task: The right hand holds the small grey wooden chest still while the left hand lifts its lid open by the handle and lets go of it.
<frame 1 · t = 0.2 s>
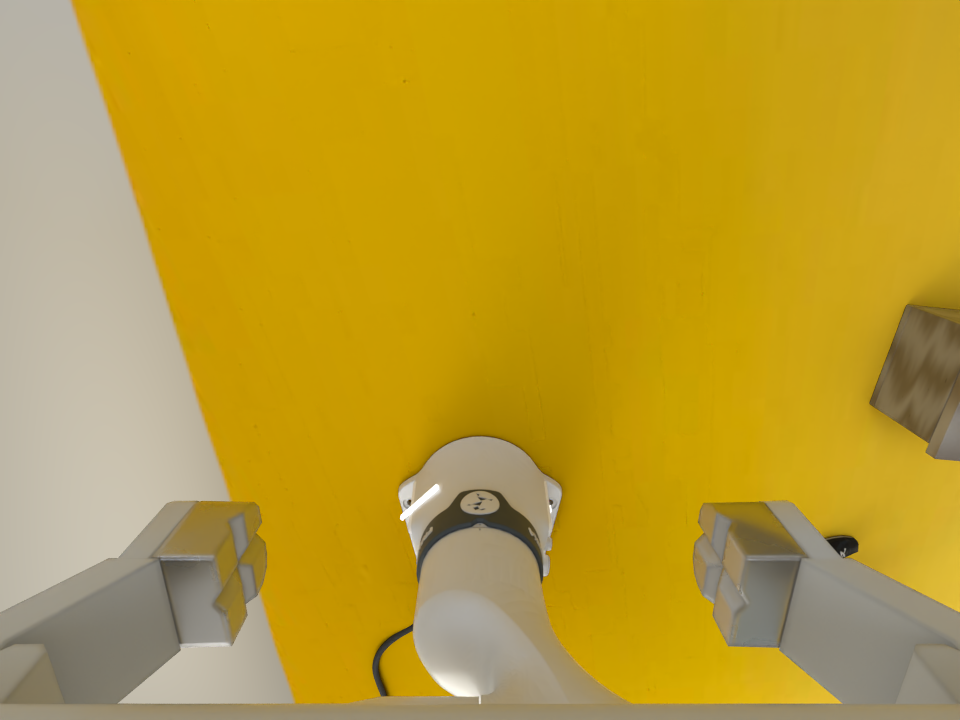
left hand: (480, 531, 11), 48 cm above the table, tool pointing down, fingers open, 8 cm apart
chest: (932, 360, 60), on the table
figurine: (820, 572, 70), on the table
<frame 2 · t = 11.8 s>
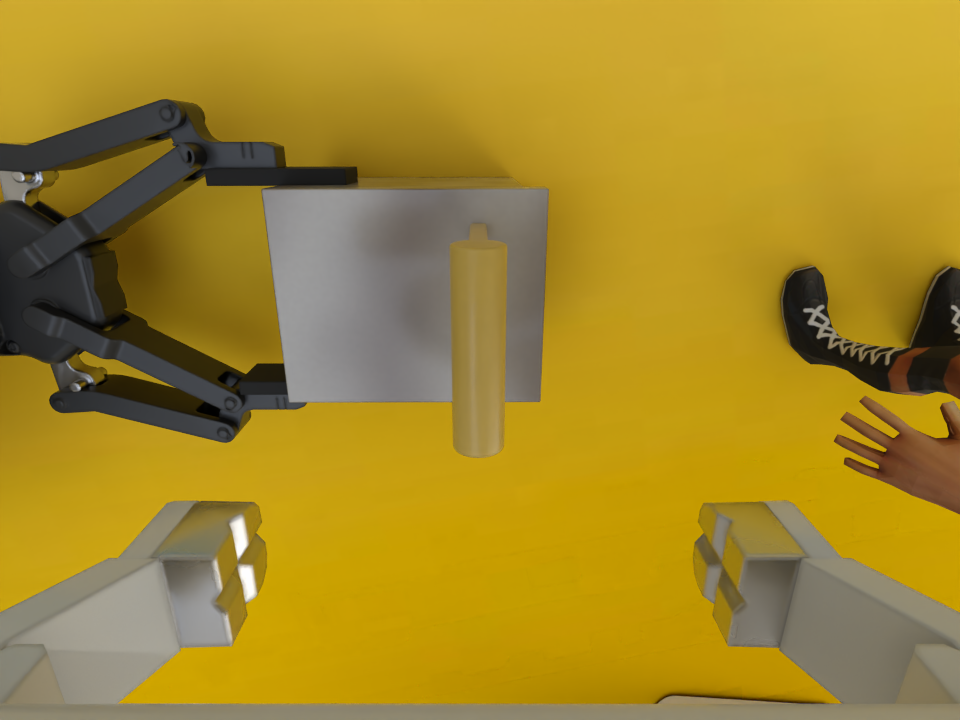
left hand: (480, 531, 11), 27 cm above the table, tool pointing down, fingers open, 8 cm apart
right hand: (360, 283, 30), fingers closed on chest, 10 cm apart
chest: (420, 261, 35), on the table, touching right hand
figurine: (866, 309, 36), on the table
lid: (401, 322, 23), point 13 cm above the table, hinge at 0.0°
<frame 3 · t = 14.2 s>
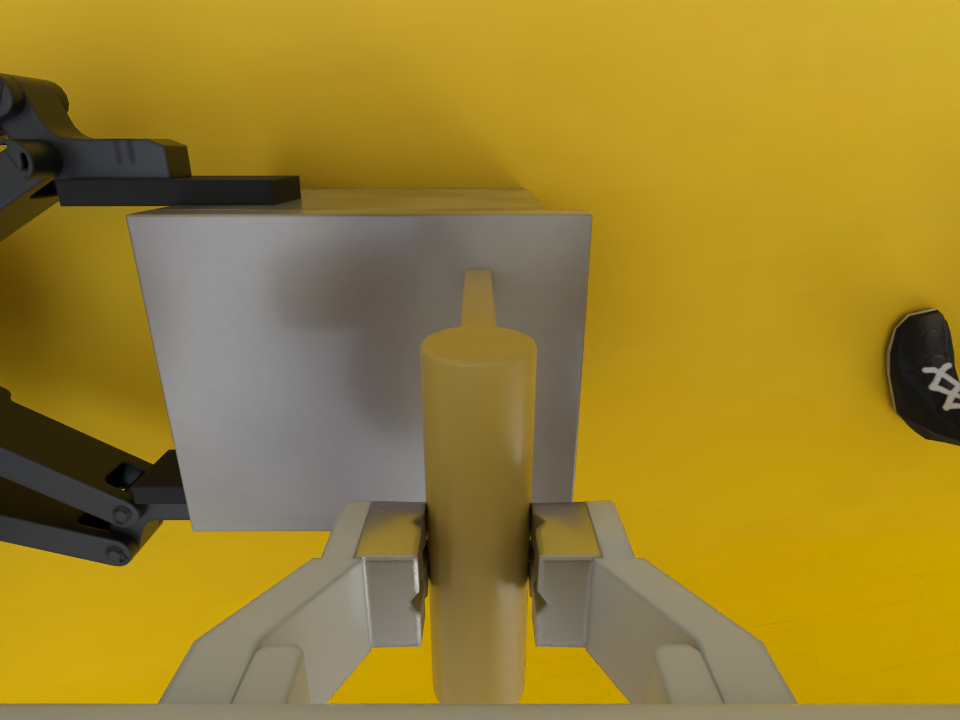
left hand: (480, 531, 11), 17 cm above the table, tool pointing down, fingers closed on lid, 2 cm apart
chest: (400, 301, 26), on the table, touching right hand
lid: (349, 441, 14), point 13 cm above the table, hinge at -0.1°, touching left hand
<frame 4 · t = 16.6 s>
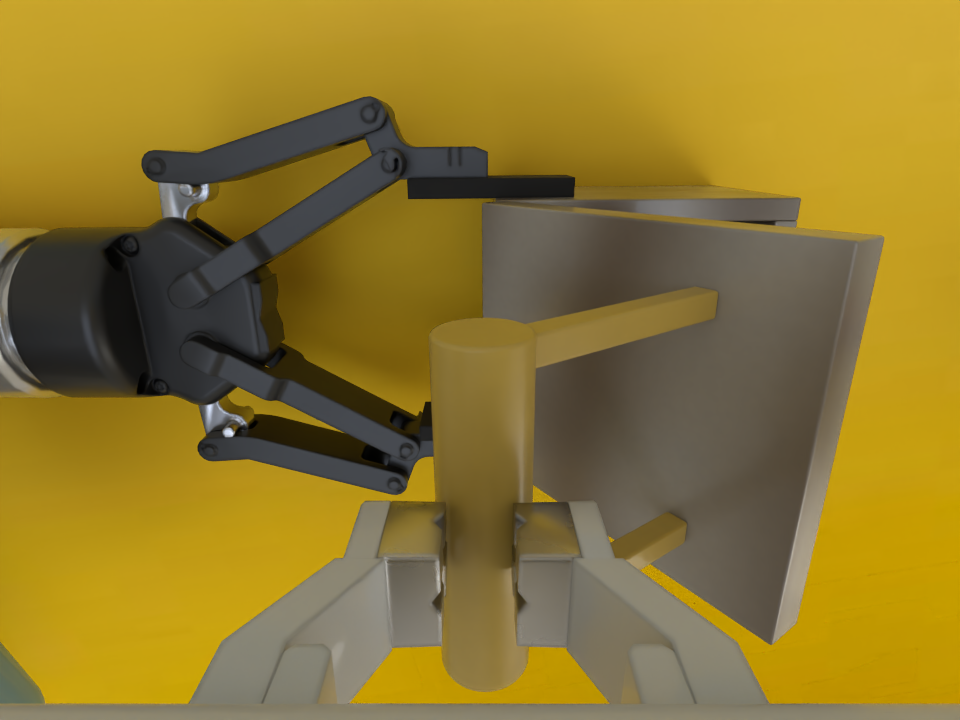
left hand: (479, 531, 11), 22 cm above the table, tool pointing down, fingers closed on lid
right hand: (564, 311, 25), fingers closed on chest, 10 cm apart
chest: (597, 281, 31), on the table, touching right hand
lid: (520, 412, 15), point 17 cm above the table, hinge at 53.7°, touching left hand
when the right hand's fingers open (6 cm above the table, at t = 21.5 s): chest stays where it is, on the table.
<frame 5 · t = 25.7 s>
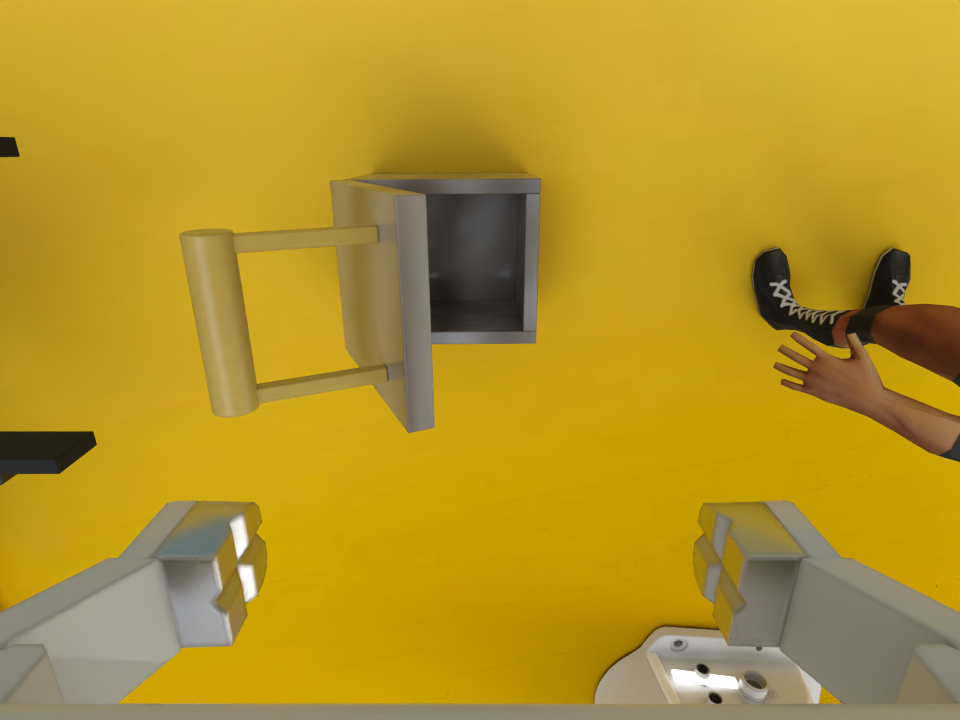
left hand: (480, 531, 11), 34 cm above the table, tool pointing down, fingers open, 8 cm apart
chest: (451, 242, 42), on the table
figurine: (824, 284, 44), on the table
lid: (298, 298, 27), point 17 cm above the table, hinge at 64.9°
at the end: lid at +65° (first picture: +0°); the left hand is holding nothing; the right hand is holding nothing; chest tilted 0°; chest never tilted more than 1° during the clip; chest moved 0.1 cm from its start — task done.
